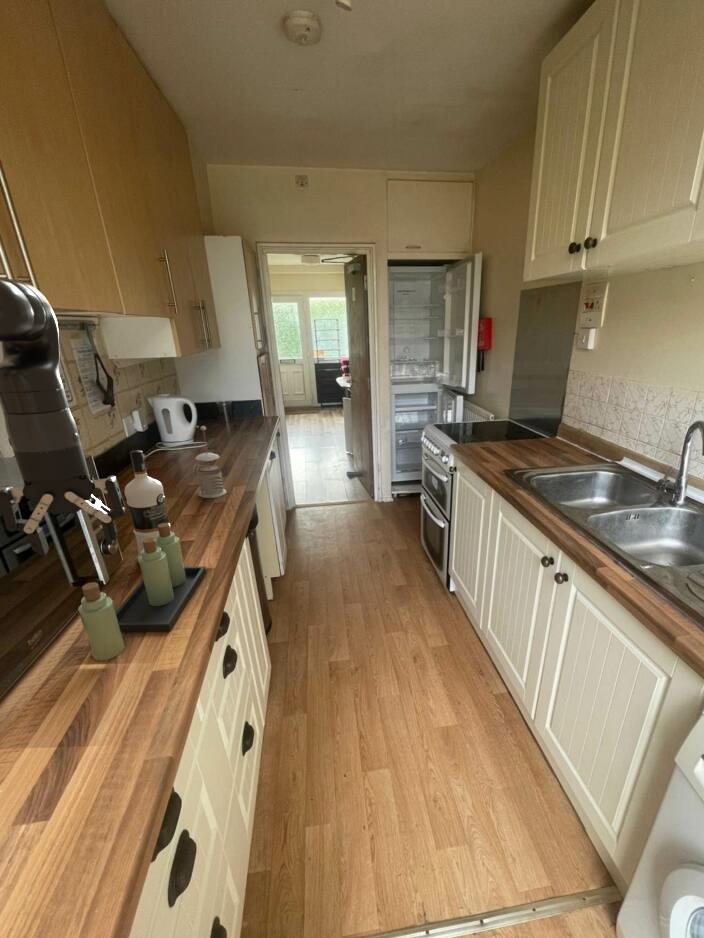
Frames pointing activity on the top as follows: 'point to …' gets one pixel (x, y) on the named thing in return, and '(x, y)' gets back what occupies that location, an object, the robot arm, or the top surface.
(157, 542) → the bottle back
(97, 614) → the bottle loose
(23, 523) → the robot arm
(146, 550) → the bottle mid
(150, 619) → the tray
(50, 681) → the top surface
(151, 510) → the vodka
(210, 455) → the french press
